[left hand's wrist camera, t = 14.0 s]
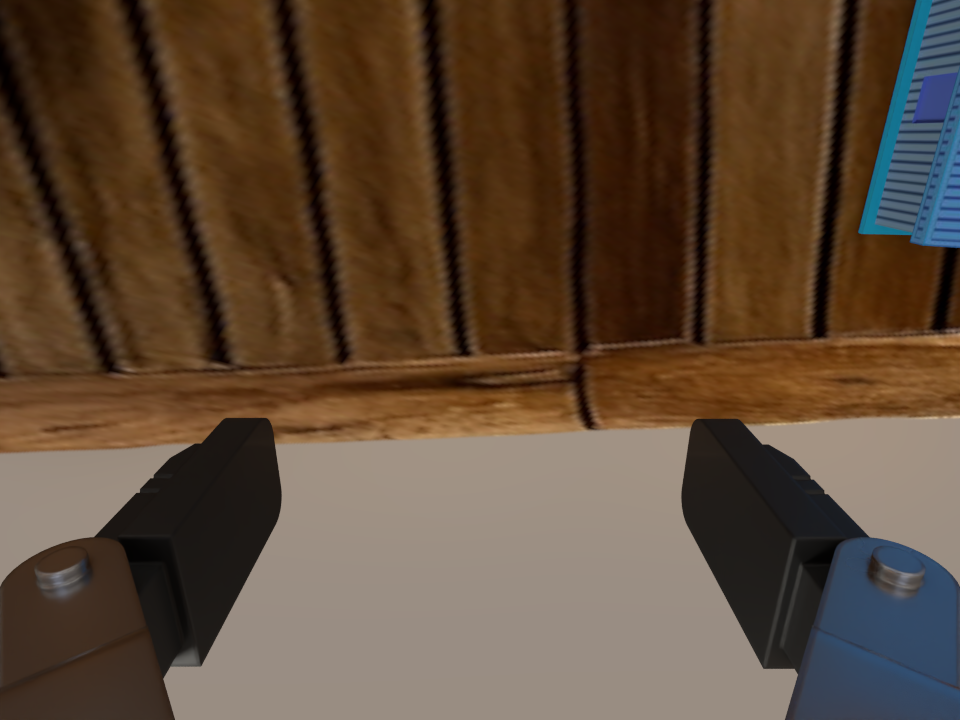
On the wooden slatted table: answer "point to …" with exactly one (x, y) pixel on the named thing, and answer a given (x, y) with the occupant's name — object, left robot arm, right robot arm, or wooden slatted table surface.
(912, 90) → the model building
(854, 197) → the wooden slatted table surface
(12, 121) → the wooden slatted table surface
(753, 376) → the wooden slatted table surface
